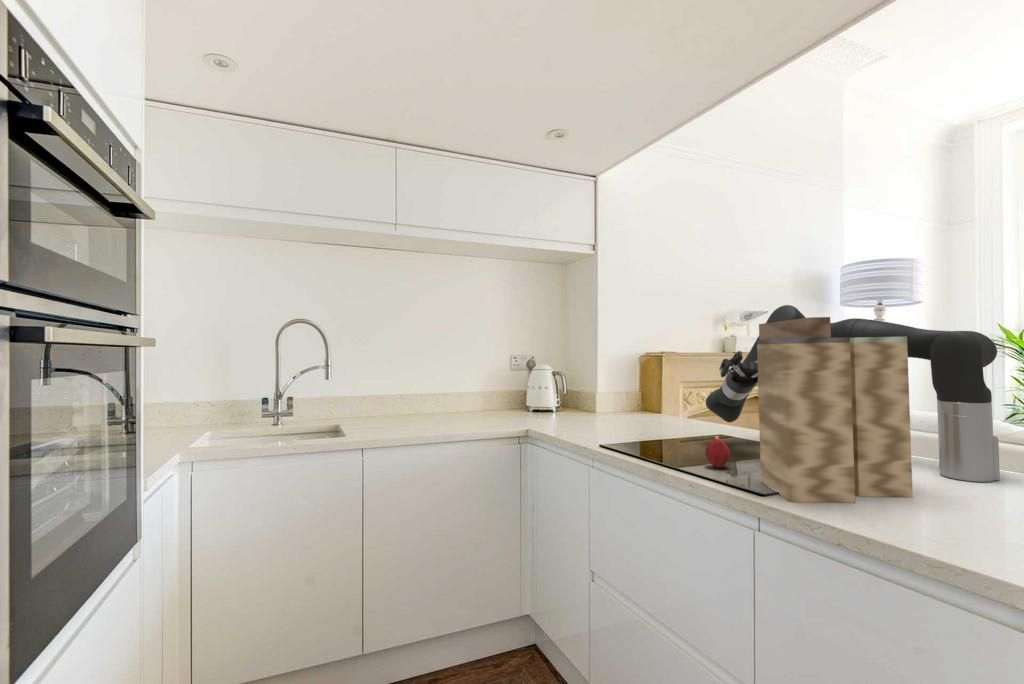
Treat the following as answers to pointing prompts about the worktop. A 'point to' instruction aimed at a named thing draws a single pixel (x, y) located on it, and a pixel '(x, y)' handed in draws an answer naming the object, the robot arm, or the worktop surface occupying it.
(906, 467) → the tower
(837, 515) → the worktop surface
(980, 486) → the worktop surface
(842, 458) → the tower
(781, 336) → the walnut bar
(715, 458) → the onion
